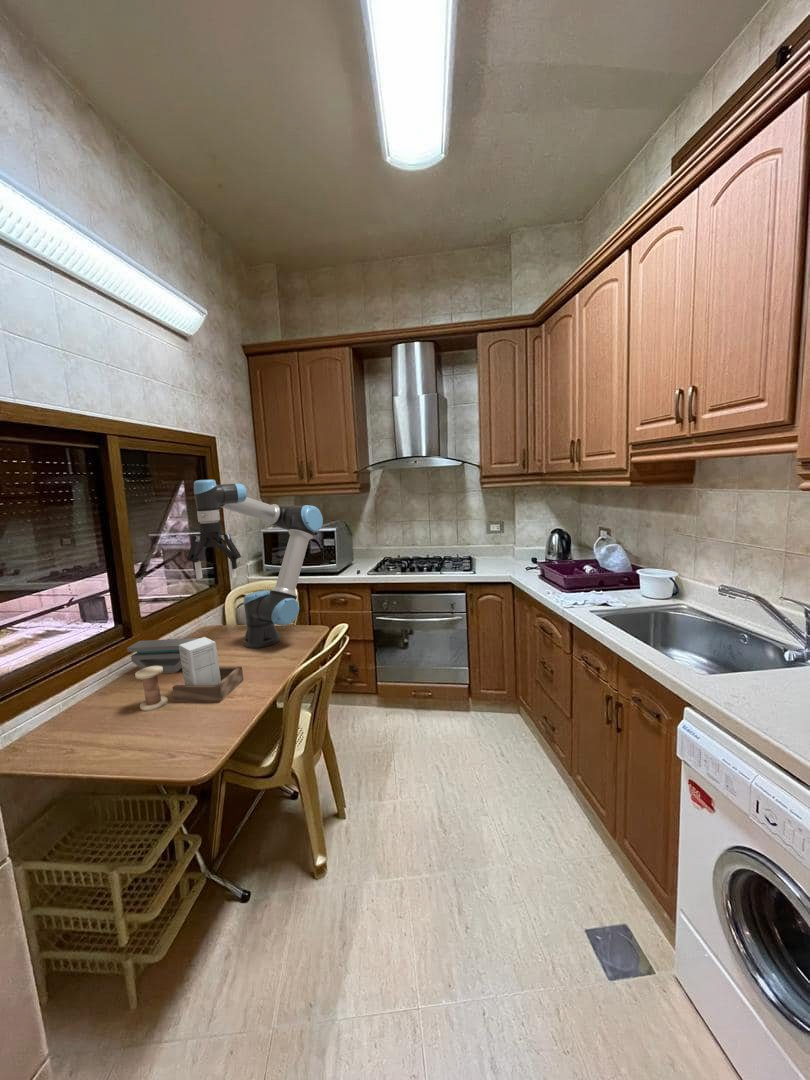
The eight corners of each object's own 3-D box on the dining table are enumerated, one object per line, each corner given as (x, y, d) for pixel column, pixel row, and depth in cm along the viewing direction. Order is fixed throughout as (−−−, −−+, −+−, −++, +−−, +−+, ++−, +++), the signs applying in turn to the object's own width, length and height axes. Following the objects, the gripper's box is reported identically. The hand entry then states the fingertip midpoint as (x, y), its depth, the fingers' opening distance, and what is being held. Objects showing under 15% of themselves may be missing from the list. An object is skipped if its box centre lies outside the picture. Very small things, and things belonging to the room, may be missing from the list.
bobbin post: (151, 698, 154) (146, 665, 153) (172, 698, 153) (168, 665, 152) (134, 710, 147) (129, 676, 145) (157, 711, 146) (151, 676, 144)
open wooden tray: (201, 680, 167) (200, 666, 166) (243, 680, 164) (241, 666, 164) (174, 701, 151) (172, 687, 150) (220, 702, 149) (218, 687, 148)
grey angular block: (202, 663, 183) (199, 637, 181) (193, 671, 175) (189, 645, 174) (143, 666, 184) (139, 640, 182) (131, 674, 176) (126, 648, 175)
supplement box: (211, 680, 165) (205, 636, 162) (222, 686, 158) (216, 641, 156) (184, 690, 158) (177, 644, 155) (195, 697, 151) (188, 650, 149)
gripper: (171, 524, 164) (179, 581, 167) (236, 521, 160) (242, 579, 163) (184, 522, 171) (191, 576, 174) (246, 519, 167) (252, 574, 171)
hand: (216, 578), depth 169 cm, fingers open, 13 cm apart
